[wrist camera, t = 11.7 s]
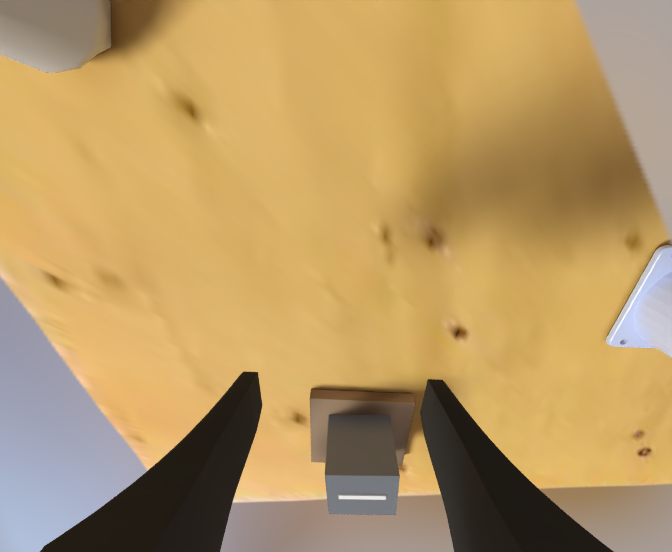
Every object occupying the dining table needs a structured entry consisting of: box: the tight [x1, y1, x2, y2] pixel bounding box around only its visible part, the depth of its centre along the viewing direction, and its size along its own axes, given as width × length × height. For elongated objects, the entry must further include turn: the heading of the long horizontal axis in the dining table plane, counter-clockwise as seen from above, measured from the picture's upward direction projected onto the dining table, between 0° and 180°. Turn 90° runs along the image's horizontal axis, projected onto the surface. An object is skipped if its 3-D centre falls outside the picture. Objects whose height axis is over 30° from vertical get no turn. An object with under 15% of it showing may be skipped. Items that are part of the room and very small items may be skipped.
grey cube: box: [325, 415, 400, 515], centre depth 24 cm, size 5×5×5 cm
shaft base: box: [310, 389, 415, 466], centre depth 25 cm, size 9×9×4 cm
